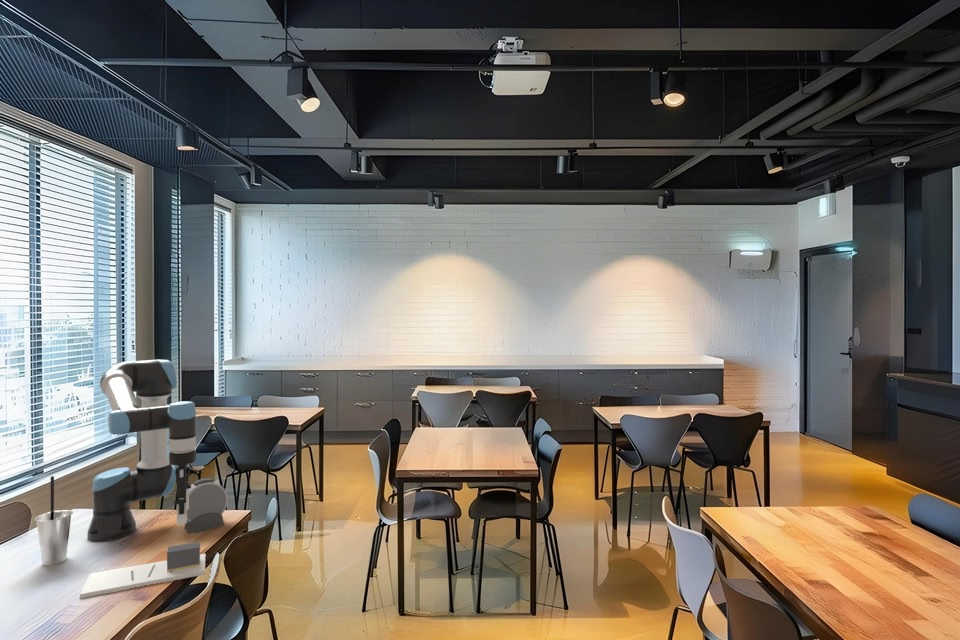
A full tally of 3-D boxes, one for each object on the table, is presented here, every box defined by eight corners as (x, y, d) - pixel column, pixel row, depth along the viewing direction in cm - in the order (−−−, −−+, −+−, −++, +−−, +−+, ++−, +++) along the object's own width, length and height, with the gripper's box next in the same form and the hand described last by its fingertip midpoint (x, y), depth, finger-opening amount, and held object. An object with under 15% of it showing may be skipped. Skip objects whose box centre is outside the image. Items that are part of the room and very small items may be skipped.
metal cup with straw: (53, 570, 174) (52, 477, 173) (24, 567, 176) (23, 475, 176) (84, 556, 184) (83, 467, 184) (56, 553, 186) (55, 466, 186)
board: (90, 577, 169) (90, 573, 169) (205, 557, 182) (205, 553, 182) (80, 598, 156) (80, 594, 156) (204, 574, 170) (204, 570, 170)
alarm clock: (222, 517, 219) (221, 472, 219) (230, 524, 212) (230, 477, 212) (177, 528, 208) (177, 480, 208) (184, 535, 201) (184, 486, 201)
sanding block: (168, 565, 174) (168, 546, 174) (200, 559, 178) (199, 541, 178) (167, 571, 169) (167, 552, 169) (199, 565, 173) (199, 547, 173)
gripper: (172, 443, 183) (172, 506, 183) (165, 461, 161) (166, 532, 161) (197, 441, 187) (197, 502, 187) (194, 458, 164) (194, 528, 164)
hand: (183, 516), depth 174 cm, fingers open, 13 cm apart
